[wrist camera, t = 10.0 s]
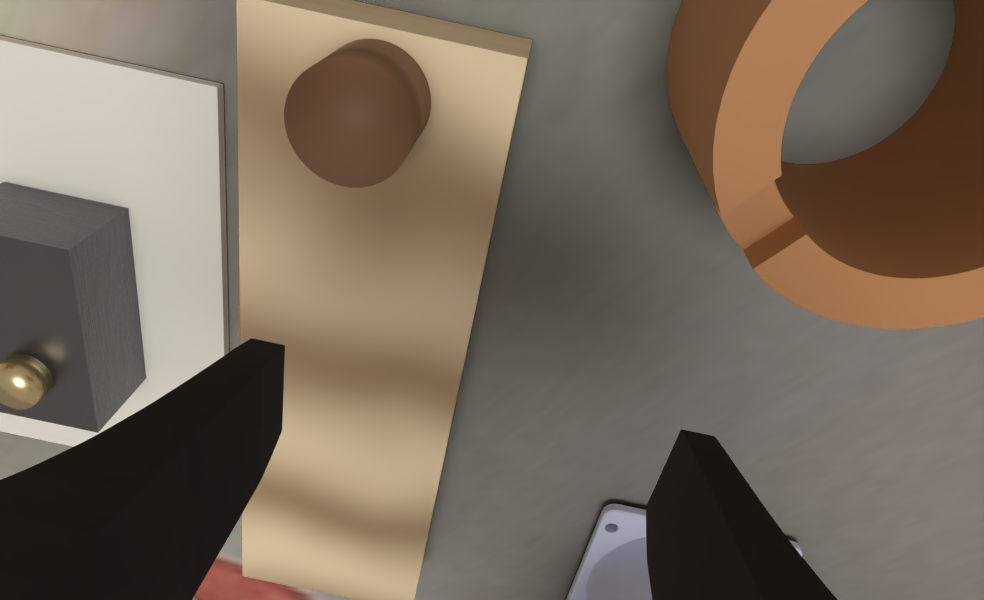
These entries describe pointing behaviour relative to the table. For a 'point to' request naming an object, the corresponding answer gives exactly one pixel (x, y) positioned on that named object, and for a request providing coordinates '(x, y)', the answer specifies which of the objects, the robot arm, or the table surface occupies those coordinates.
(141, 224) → the mat
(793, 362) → the table surface
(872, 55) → the table surface
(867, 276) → the bracket
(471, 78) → the body
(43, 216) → the lever cap
